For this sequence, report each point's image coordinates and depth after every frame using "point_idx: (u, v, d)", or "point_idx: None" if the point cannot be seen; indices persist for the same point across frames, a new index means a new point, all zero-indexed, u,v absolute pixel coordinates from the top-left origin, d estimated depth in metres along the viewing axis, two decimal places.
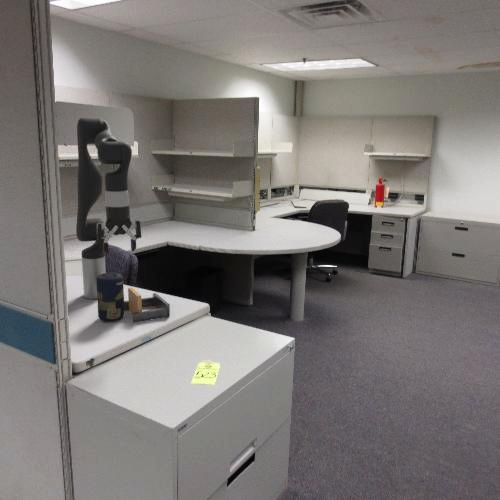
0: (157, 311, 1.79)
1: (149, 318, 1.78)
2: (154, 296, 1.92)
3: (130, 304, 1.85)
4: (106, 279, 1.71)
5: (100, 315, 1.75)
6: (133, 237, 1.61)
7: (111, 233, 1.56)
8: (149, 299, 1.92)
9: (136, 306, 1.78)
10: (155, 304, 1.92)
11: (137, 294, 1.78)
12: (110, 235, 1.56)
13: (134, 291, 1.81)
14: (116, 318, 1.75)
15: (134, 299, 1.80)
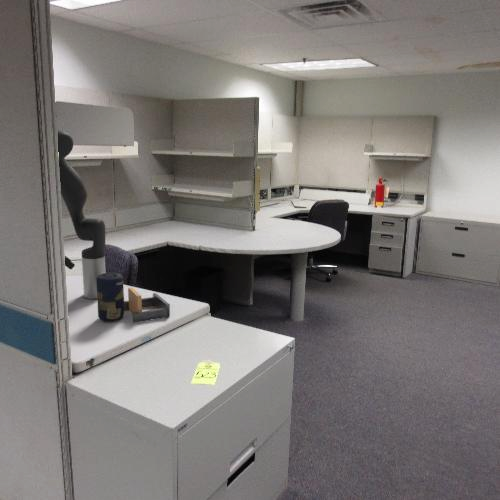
0: (157, 311, 1.79)
1: (149, 318, 1.78)
2: (154, 296, 1.92)
3: (130, 304, 1.85)
4: (106, 279, 1.71)
5: (100, 315, 1.75)
6: None
7: None
8: (149, 299, 1.92)
9: (136, 306, 1.78)
10: (155, 304, 1.92)
11: (137, 294, 1.78)
12: None
13: (134, 291, 1.81)
14: (116, 318, 1.75)
15: (134, 299, 1.80)
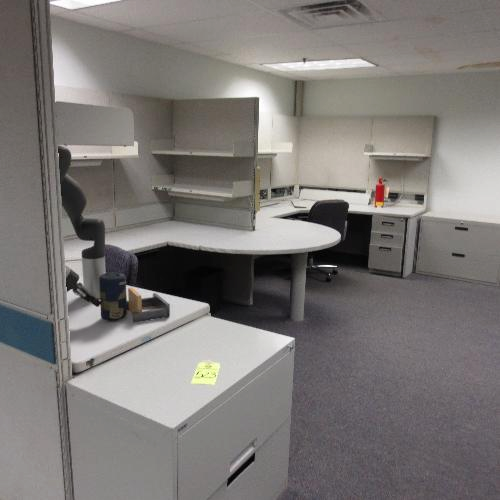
0: (157, 311, 1.79)
1: (149, 318, 1.78)
2: (154, 296, 1.92)
3: (130, 304, 1.85)
4: (109, 279, 1.72)
5: (103, 315, 1.75)
6: None
7: None
8: (149, 299, 1.92)
9: (136, 306, 1.78)
10: (155, 304, 1.92)
11: (137, 294, 1.78)
12: None
13: (134, 291, 1.81)
14: (119, 318, 1.76)
15: (134, 299, 1.80)
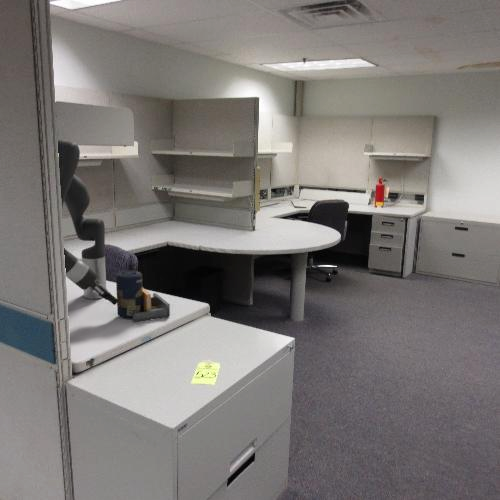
0: (157, 311, 1.79)
1: (149, 318, 1.78)
2: (154, 296, 1.92)
3: None
4: (126, 277, 1.74)
5: (120, 312, 1.78)
6: None
7: None
8: None
9: (145, 305, 1.80)
10: (155, 304, 1.92)
11: (146, 293, 1.80)
12: None
13: (143, 290, 1.83)
14: None
15: (143, 297, 1.82)
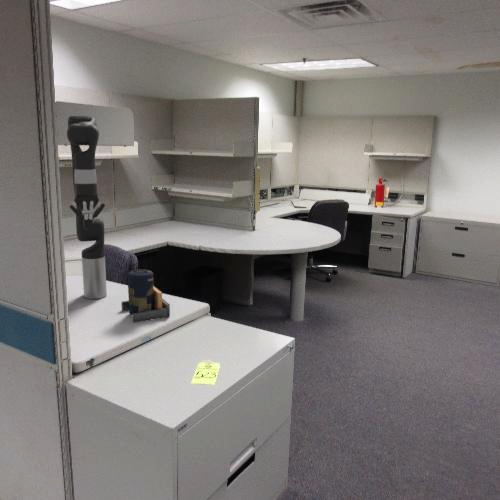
0: (157, 311, 1.79)
1: (149, 318, 1.78)
2: None
3: None
4: (138, 275, 1.77)
5: (131, 310, 1.80)
6: (89, 216, 1.74)
7: (85, 209, 1.72)
8: None
9: (157, 303, 1.82)
10: None
11: (158, 291, 1.82)
12: (85, 211, 1.72)
13: (154, 288, 1.85)
14: None
15: (154, 296, 1.84)
